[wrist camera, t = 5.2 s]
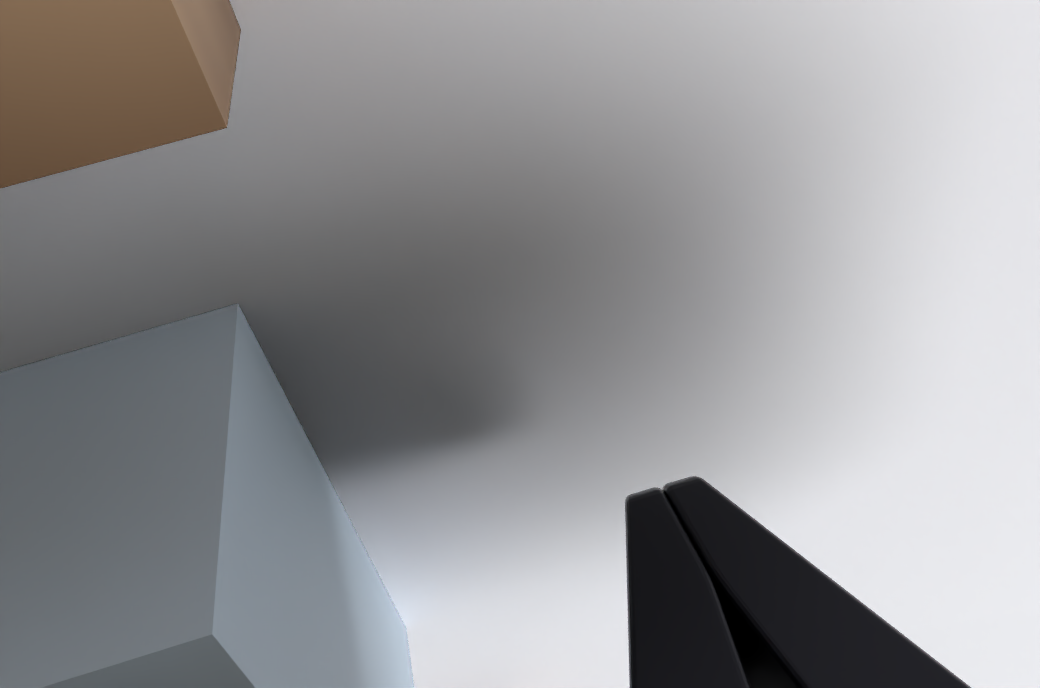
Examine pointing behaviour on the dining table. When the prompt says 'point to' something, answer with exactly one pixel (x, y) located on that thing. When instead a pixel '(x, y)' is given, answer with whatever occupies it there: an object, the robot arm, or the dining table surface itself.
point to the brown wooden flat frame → (109, 79)
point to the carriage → (178, 526)
